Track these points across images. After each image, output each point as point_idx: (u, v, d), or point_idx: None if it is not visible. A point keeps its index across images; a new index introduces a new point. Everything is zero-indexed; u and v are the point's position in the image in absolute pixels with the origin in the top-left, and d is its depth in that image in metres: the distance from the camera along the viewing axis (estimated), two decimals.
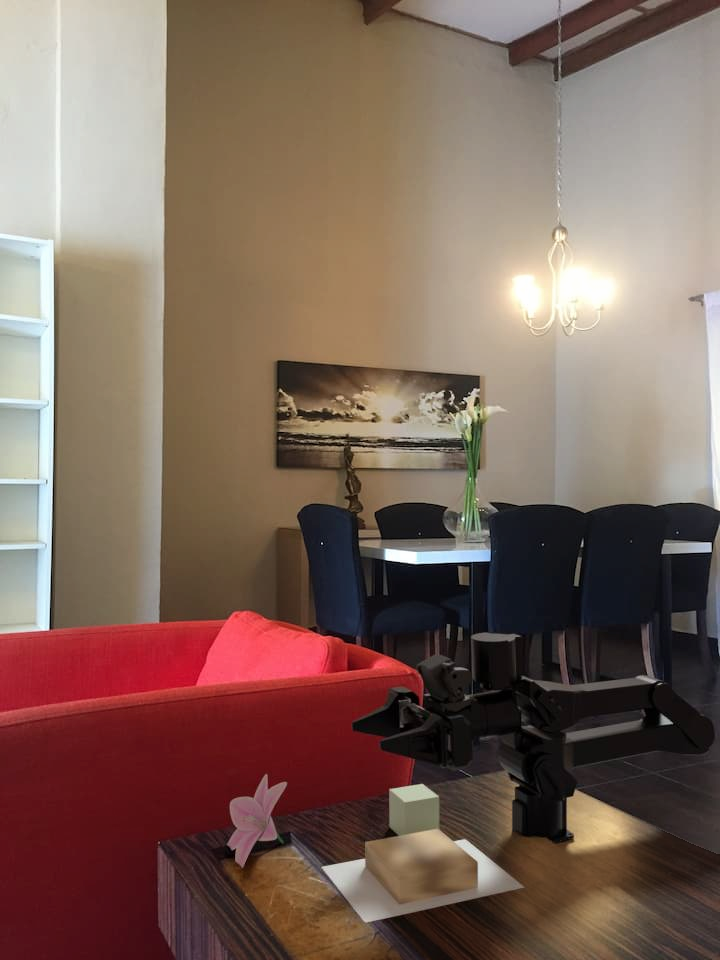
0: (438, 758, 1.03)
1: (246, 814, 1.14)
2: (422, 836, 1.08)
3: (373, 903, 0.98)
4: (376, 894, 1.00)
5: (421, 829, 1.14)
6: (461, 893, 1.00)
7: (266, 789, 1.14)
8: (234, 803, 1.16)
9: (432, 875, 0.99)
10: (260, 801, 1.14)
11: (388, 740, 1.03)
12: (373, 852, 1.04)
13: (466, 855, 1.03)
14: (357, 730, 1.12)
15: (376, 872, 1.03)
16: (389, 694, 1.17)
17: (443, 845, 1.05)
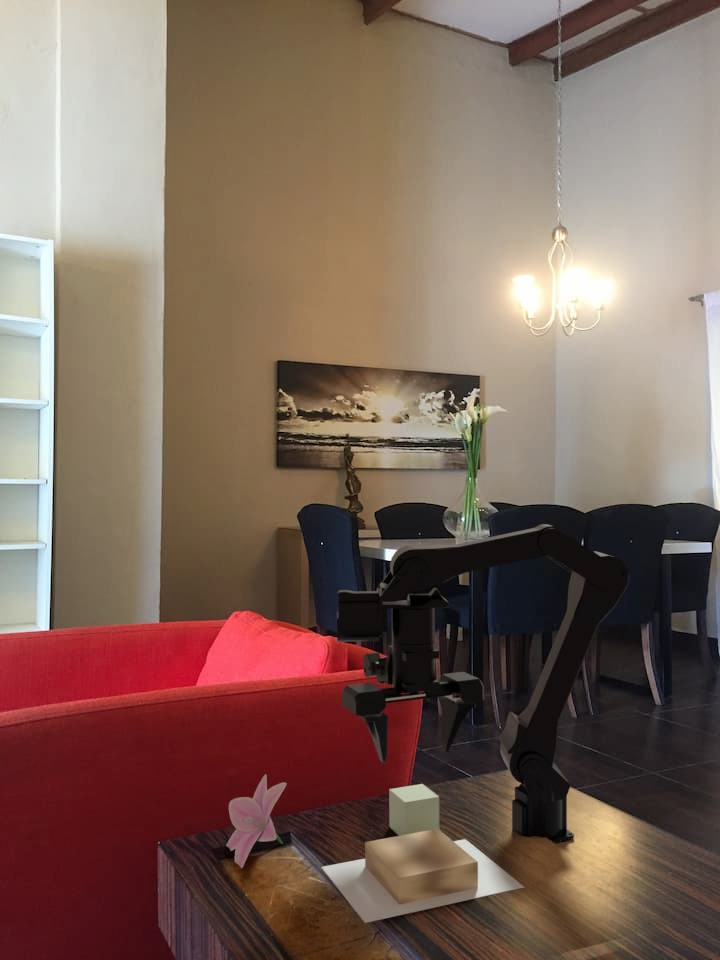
0: None
1: (246, 814, 1.13)
2: (422, 836, 1.08)
3: (373, 903, 0.98)
4: (376, 894, 1.00)
5: (421, 829, 1.14)
6: (461, 893, 1.00)
7: (265, 789, 1.13)
8: (233, 803, 1.16)
9: (432, 875, 0.99)
10: (259, 801, 1.13)
11: (378, 753, 1.15)
12: (373, 852, 1.04)
13: (466, 855, 1.03)
14: (445, 748, 1.18)
15: (376, 872, 1.03)
16: None
17: (443, 845, 1.05)
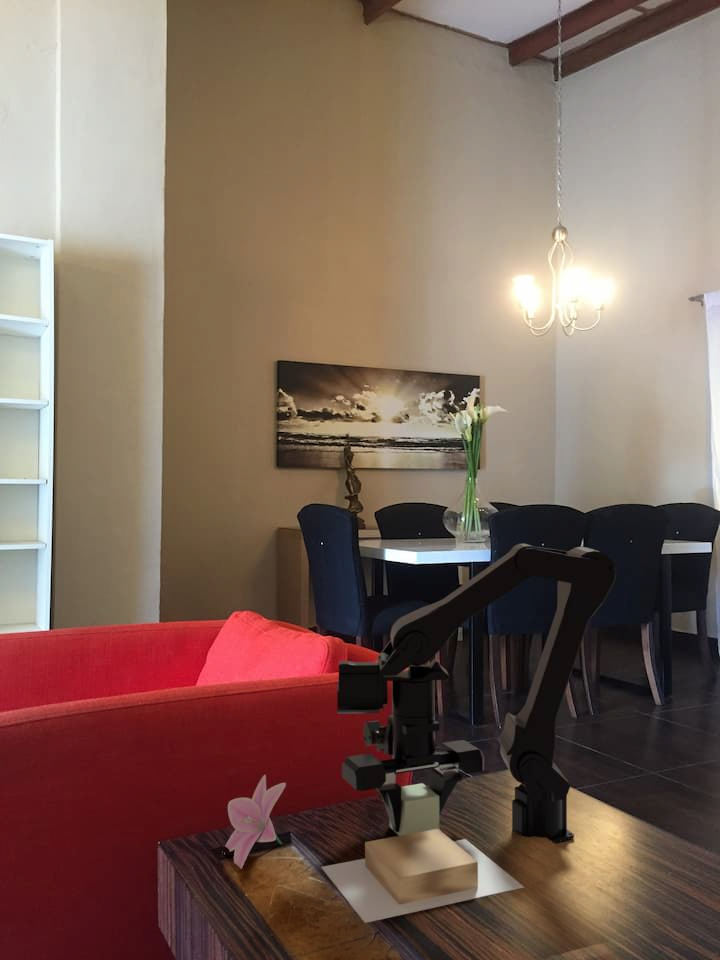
0: None
1: (245, 815, 1.13)
2: (422, 836, 1.08)
3: (373, 903, 0.98)
4: (376, 894, 1.00)
5: (422, 828, 1.15)
6: (461, 893, 1.00)
7: (264, 790, 1.13)
8: (232, 804, 1.16)
9: (432, 875, 0.99)
10: (258, 801, 1.13)
11: (391, 822, 1.16)
12: (373, 852, 1.04)
13: (466, 855, 1.03)
14: None
15: (376, 872, 1.03)
16: None
17: (443, 845, 1.05)
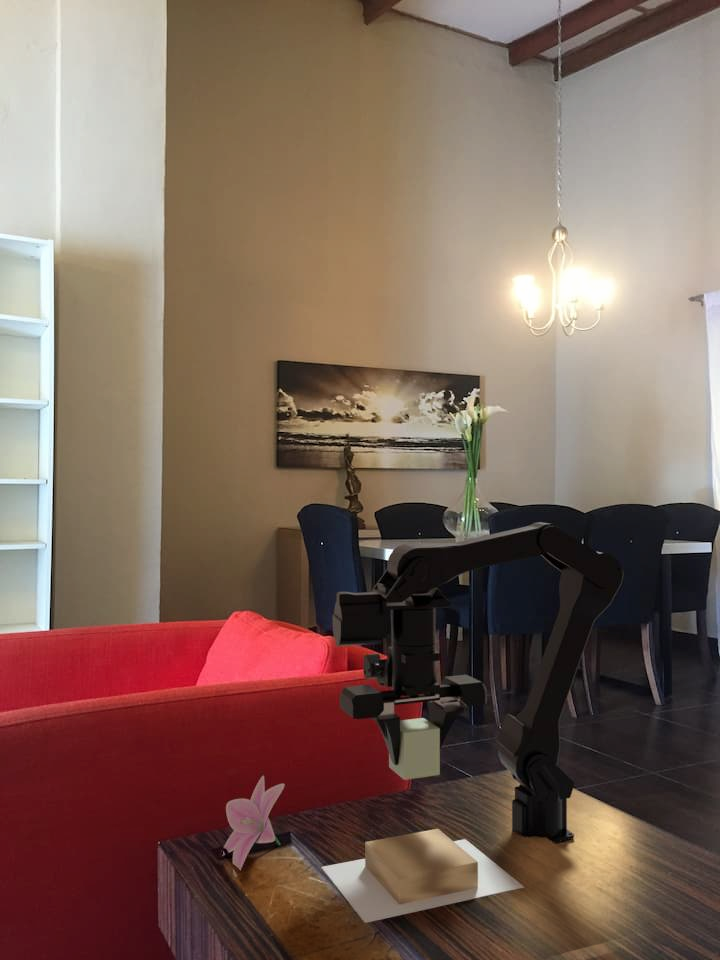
0: None
1: (243, 816, 1.13)
2: (422, 836, 1.08)
3: (373, 903, 0.98)
4: (376, 894, 1.00)
5: (421, 761, 1.11)
6: (461, 893, 1.00)
7: (263, 791, 1.13)
8: (231, 805, 1.16)
9: (432, 875, 0.99)
10: (257, 802, 1.13)
11: (390, 755, 1.13)
12: (373, 852, 1.04)
13: (466, 855, 1.03)
14: None
15: (376, 872, 1.03)
16: None
17: (443, 845, 1.05)
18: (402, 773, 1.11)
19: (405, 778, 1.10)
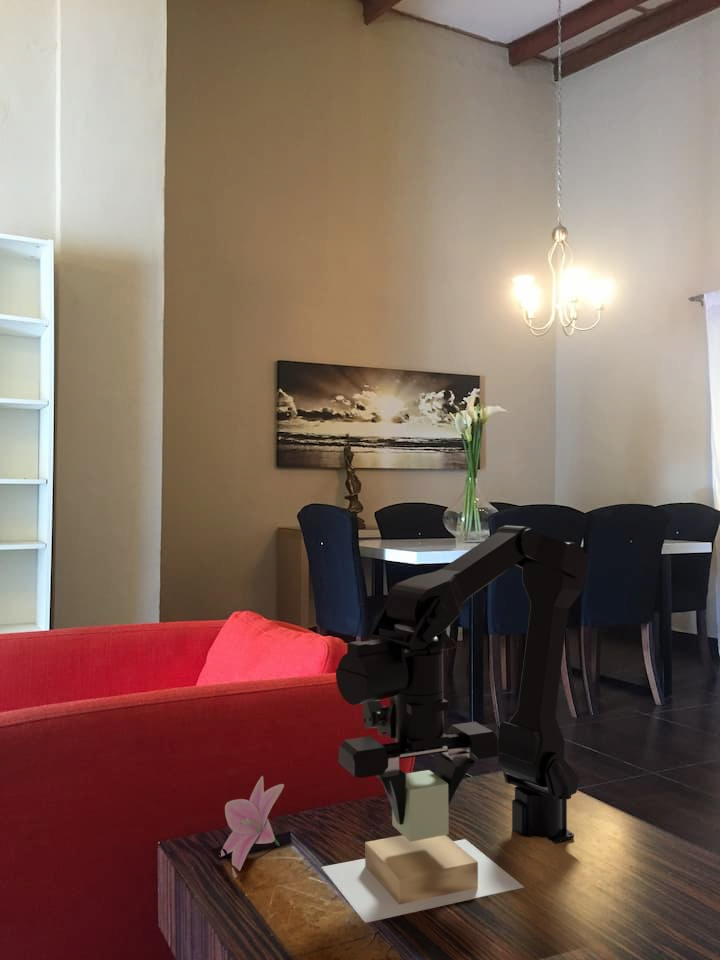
0: None
1: (242, 816, 1.13)
2: None
3: (373, 903, 0.98)
4: (376, 894, 1.00)
5: (428, 820, 1.01)
6: (461, 893, 1.00)
7: (262, 791, 1.13)
8: (230, 805, 1.15)
9: (432, 875, 0.99)
10: (256, 803, 1.13)
11: (394, 814, 1.03)
12: (373, 852, 1.04)
13: (466, 855, 1.03)
14: None
15: (376, 872, 1.03)
16: None
17: (443, 845, 1.05)
18: (408, 834, 1.01)
19: (411, 840, 1.01)
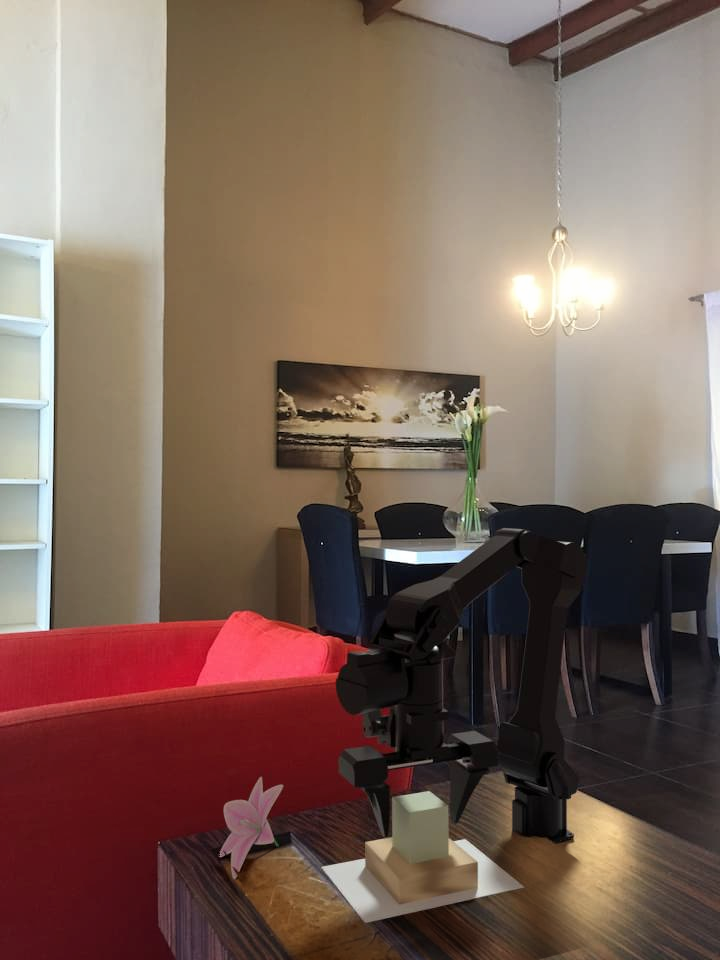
0: None
1: (241, 817, 1.13)
2: None
3: (373, 903, 0.98)
4: (376, 894, 1.00)
5: (429, 842, 1.01)
6: (461, 893, 1.00)
7: (261, 792, 1.13)
8: (228, 806, 1.15)
9: (432, 875, 0.99)
10: (255, 804, 1.13)
11: (379, 826, 1.02)
12: (373, 852, 1.04)
13: (466, 855, 1.03)
14: (454, 819, 1.05)
15: (376, 872, 1.03)
16: None
17: None
18: (408, 856, 1.01)
19: (411, 862, 1.01)
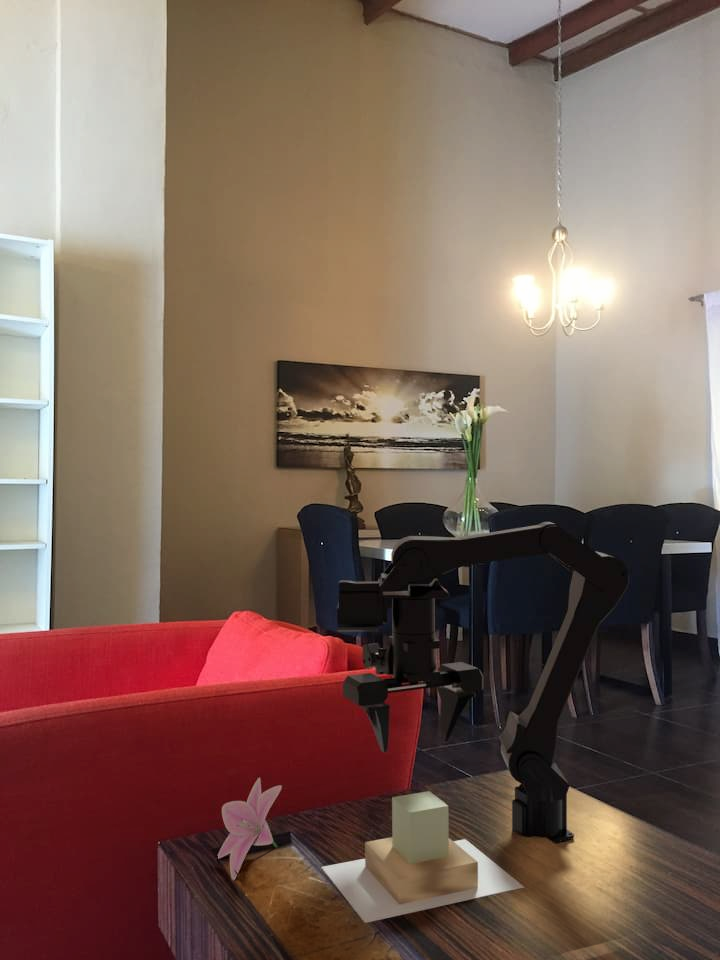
0: None
1: (239, 818, 1.12)
2: None
3: (373, 903, 0.98)
4: (376, 894, 1.00)
5: (429, 842, 1.01)
6: (461, 893, 1.00)
7: (259, 793, 1.12)
8: (227, 807, 1.15)
9: (432, 875, 0.99)
10: (253, 805, 1.12)
11: None
12: (373, 852, 1.04)
13: (466, 855, 1.03)
14: (445, 738, 1.18)
15: (376, 872, 1.03)
16: None
17: None
18: (408, 856, 1.01)
19: (411, 862, 1.01)
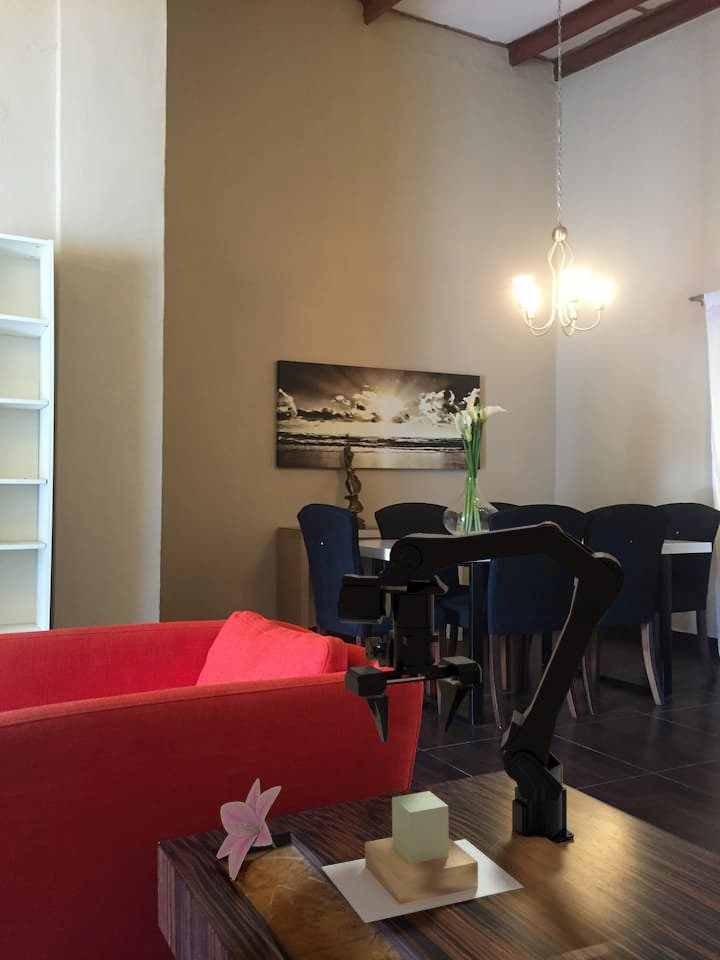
0: None
1: (238, 819, 1.12)
2: None
3: (373, 903, 0.98)
4: (376, 894, 1.00)
5: (429, 842, 1.01)
6: (461, 893, 1.00)
7: (258, 793, 1.12)
8: (225, 808, 1.14)
9: (432, 875, 0.99)
10: (252, 805, 1.12)
11: (379, 733, 1.20)
12: (373, 852, 1.04)
13: (466, 855, 1.03)
14: (444, 729, 1.22)
15: (376, 872, 1.03)
16: None
17: None
18: (408, 856, 1.01)
19: (411, 862, 1.01)
